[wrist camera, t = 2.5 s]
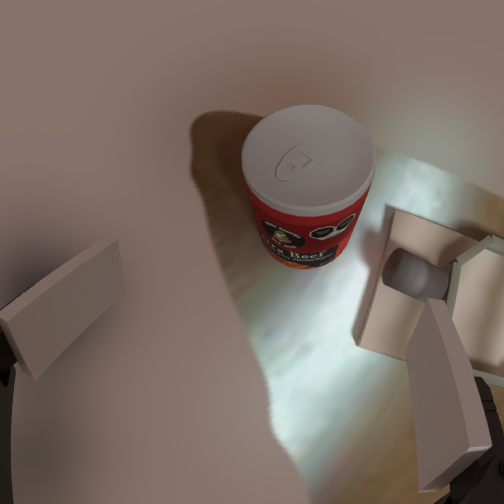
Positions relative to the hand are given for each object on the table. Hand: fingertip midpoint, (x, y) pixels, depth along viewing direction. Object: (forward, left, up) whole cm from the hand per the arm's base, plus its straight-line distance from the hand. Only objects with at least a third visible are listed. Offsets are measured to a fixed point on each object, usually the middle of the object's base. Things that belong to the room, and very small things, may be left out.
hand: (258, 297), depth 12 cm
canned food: (+7, -6, -13) cm, 16 cm away
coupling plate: (-8, -18, -13) cm, 24 cm away
